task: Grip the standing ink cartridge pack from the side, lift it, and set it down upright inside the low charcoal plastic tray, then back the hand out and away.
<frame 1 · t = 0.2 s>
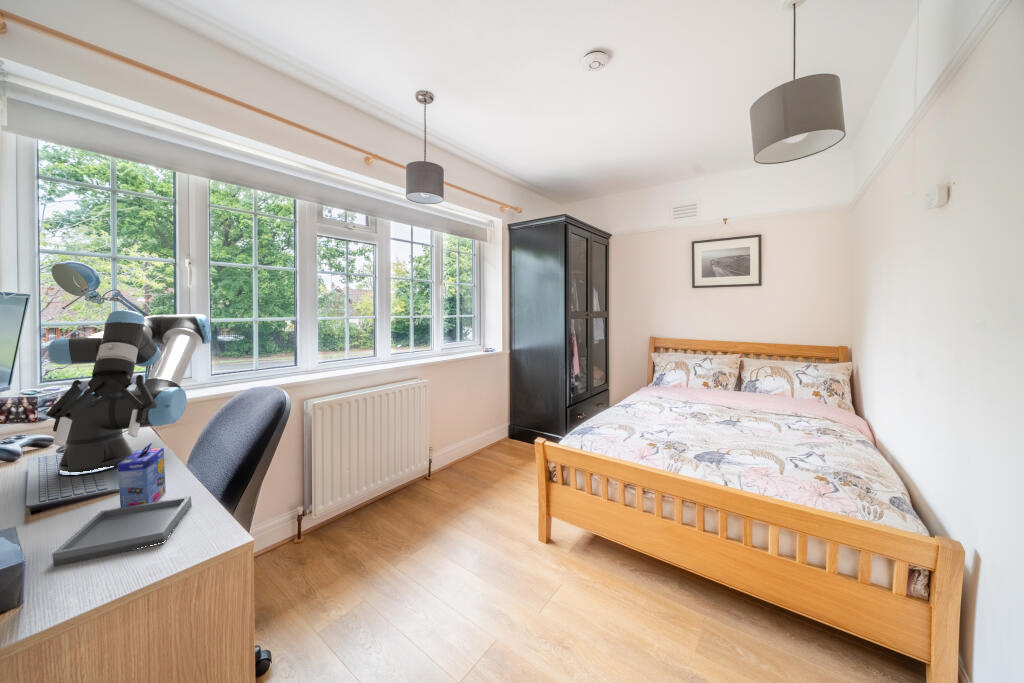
hand: (96, 440, 92), 16 cm above the table, tool tilted 35°, fingers open, 13 cm apart
dock tray: (131, 532, 81), on the table
ink cartridge box: (145, 503, 93), on the table
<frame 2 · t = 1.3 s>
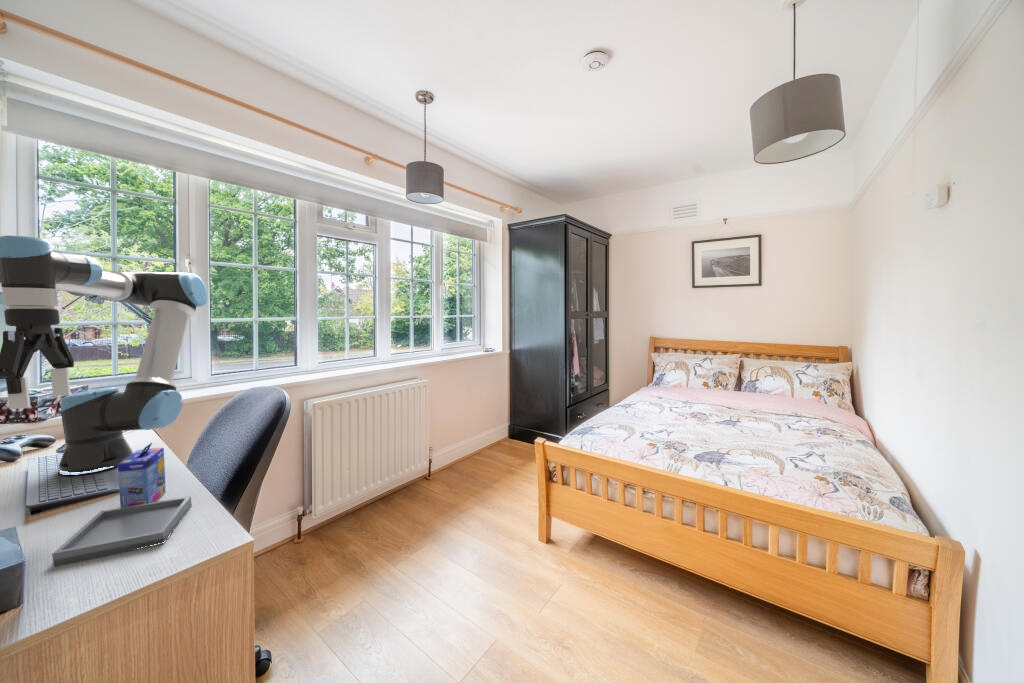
hand: (42, 401, 86), 27 cm above the table, tool pointing down, fingers open, 13 cm apart
nothing on the table moved.
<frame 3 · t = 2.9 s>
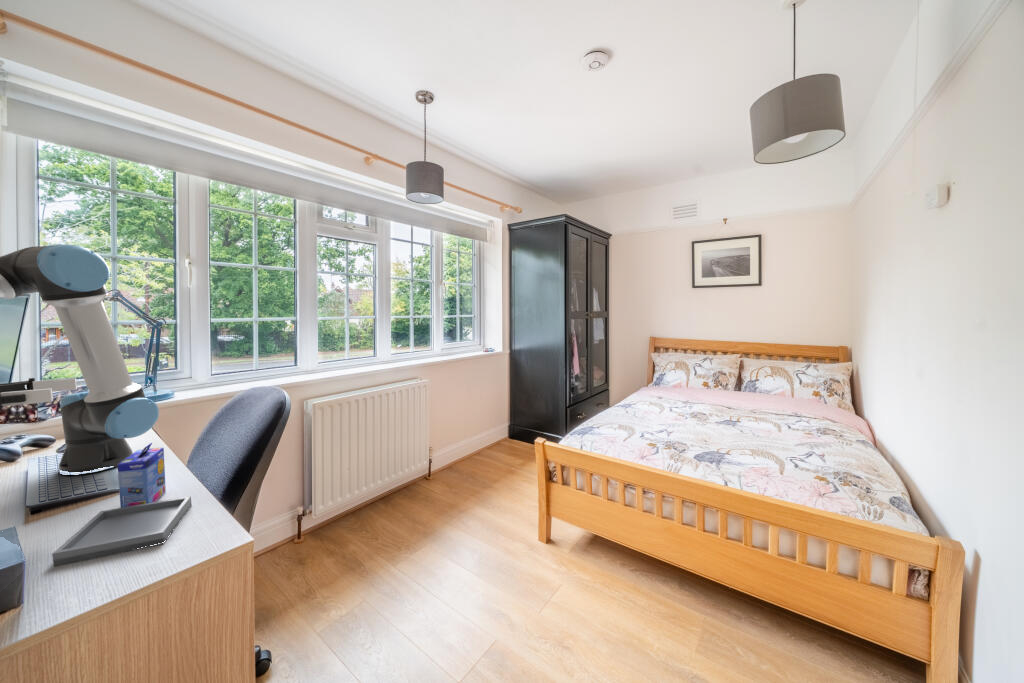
hand: (65, 389, 84), 30 cm above the table, tool horizontal, fingers open, 13 cm apart
nothing on the table moved.
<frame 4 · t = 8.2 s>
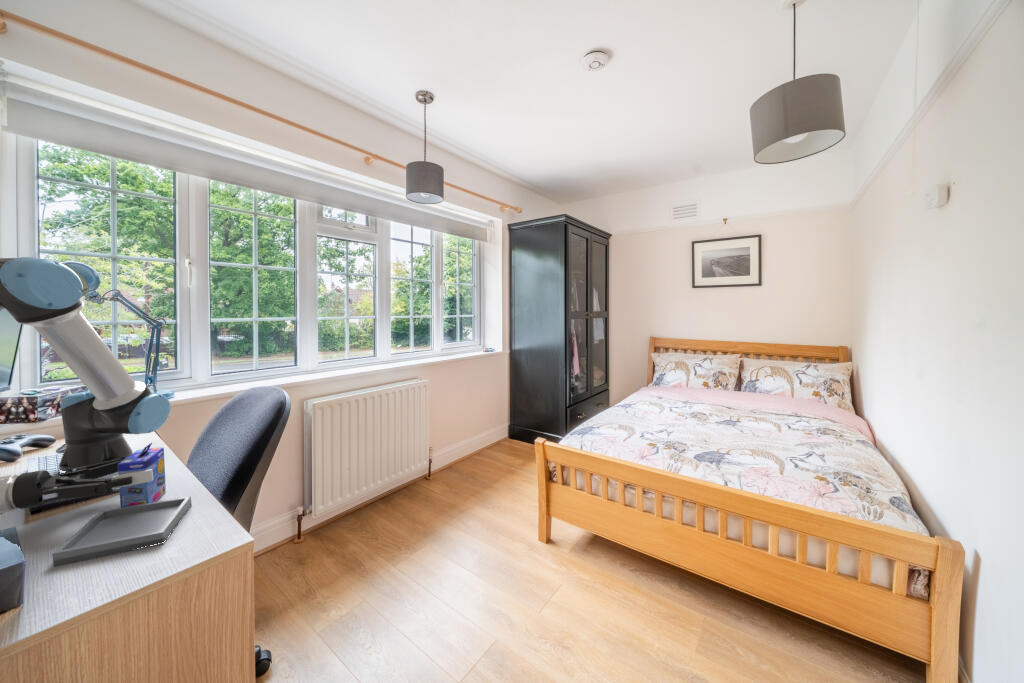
hand: (157, 466, 94), 8 cm above the table, tool horizontal, fingers closed on ink cartridge box, 10 cm apart
ink cartridge box: (145, 502, 93), on the table, touching gripper
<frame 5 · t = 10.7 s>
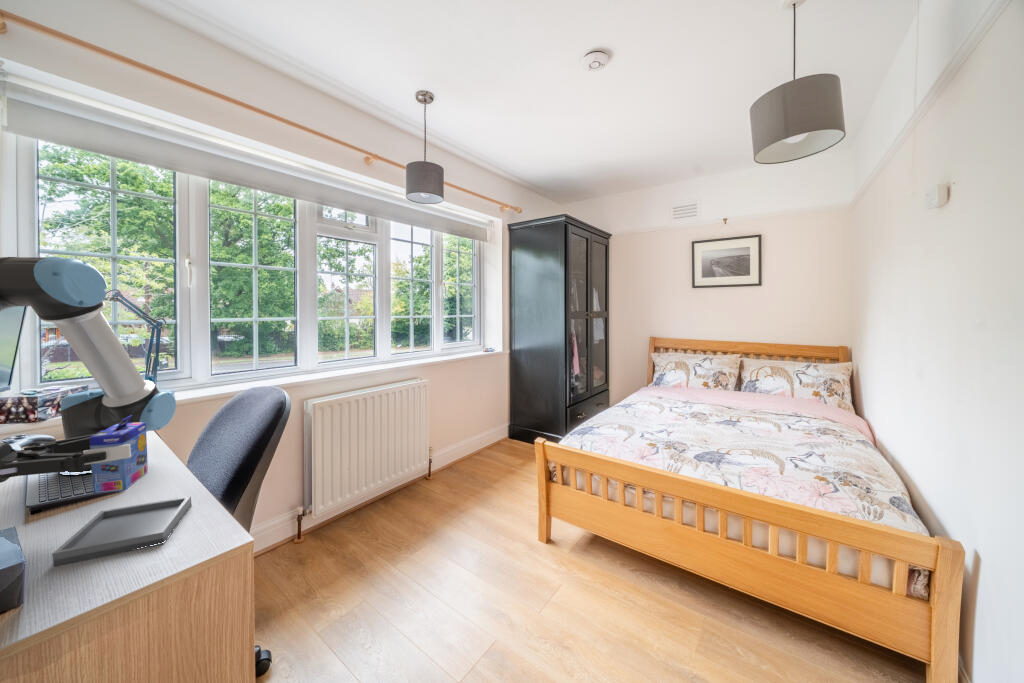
hand: (137, 442, 83), 19 cm above the table, tool horizontal, fingers closed on ink cartridge box, 10 cm apart
ink cartridge box: (123, 483, 82), point 10 cm above the table, touching gripper
when the fingers open (11 cm above the table, at t = 13.2 s): ink cartridge box drops 1 cm, resting on dock tray.
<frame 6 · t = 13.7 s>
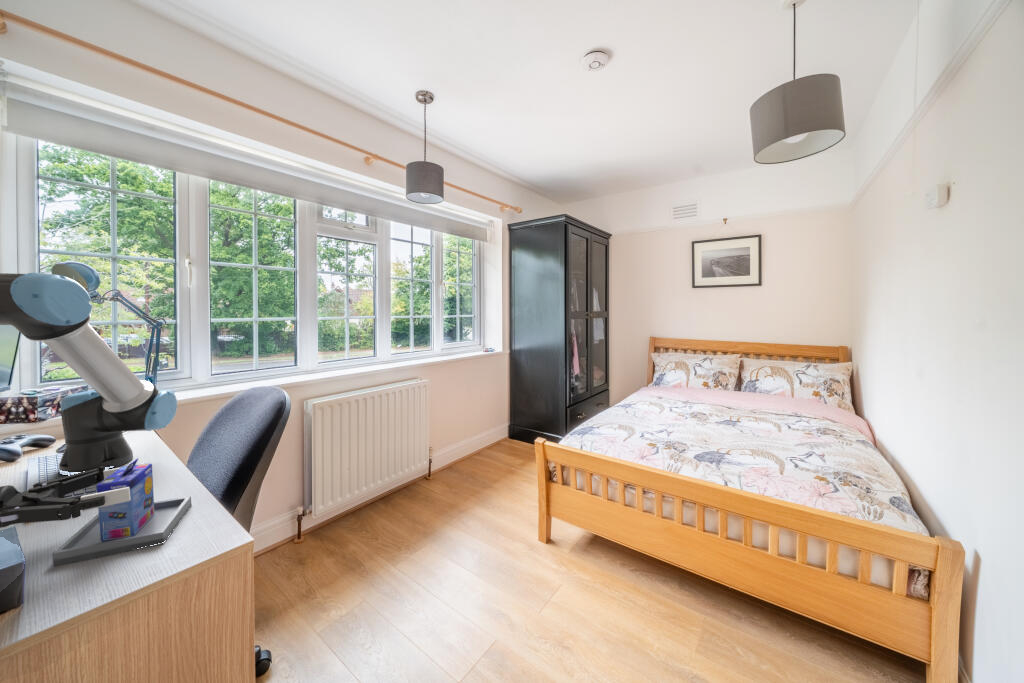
hand: (138, 480, 81), 11 cm above the table, tool horizontal, fingers open, 13 cm apart
ink cartridge box: (130, 528, 81), point 1 cm above the table, touching dock tray
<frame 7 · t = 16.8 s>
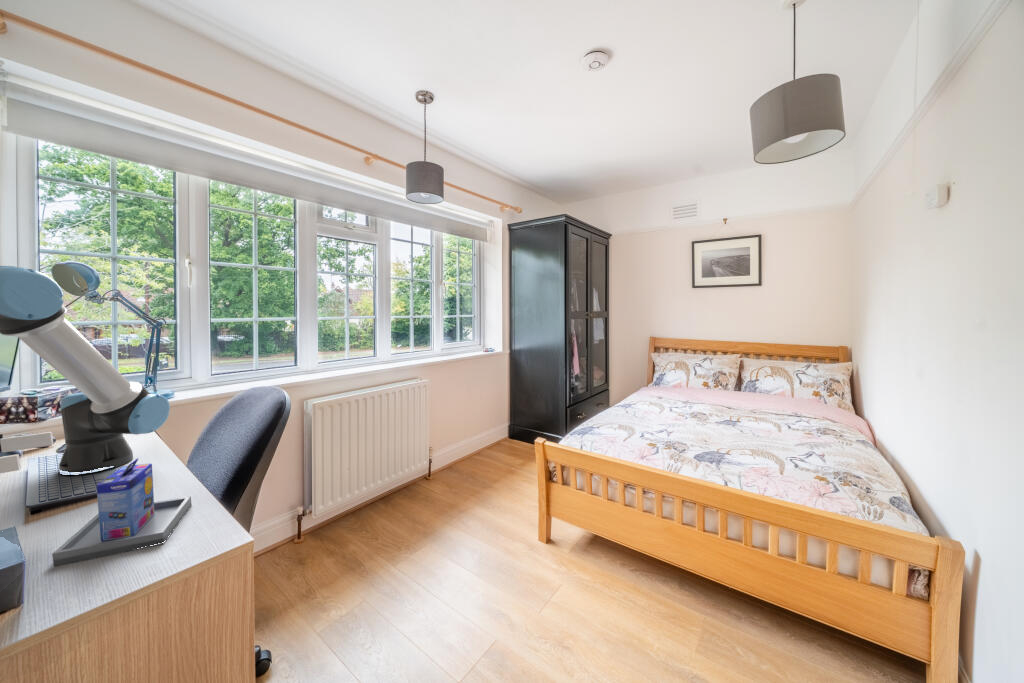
hand: (37, 449, 72), 21 cm above the table, tool horizontal, fingers open, 13 cm apart
nothing on the table moved.
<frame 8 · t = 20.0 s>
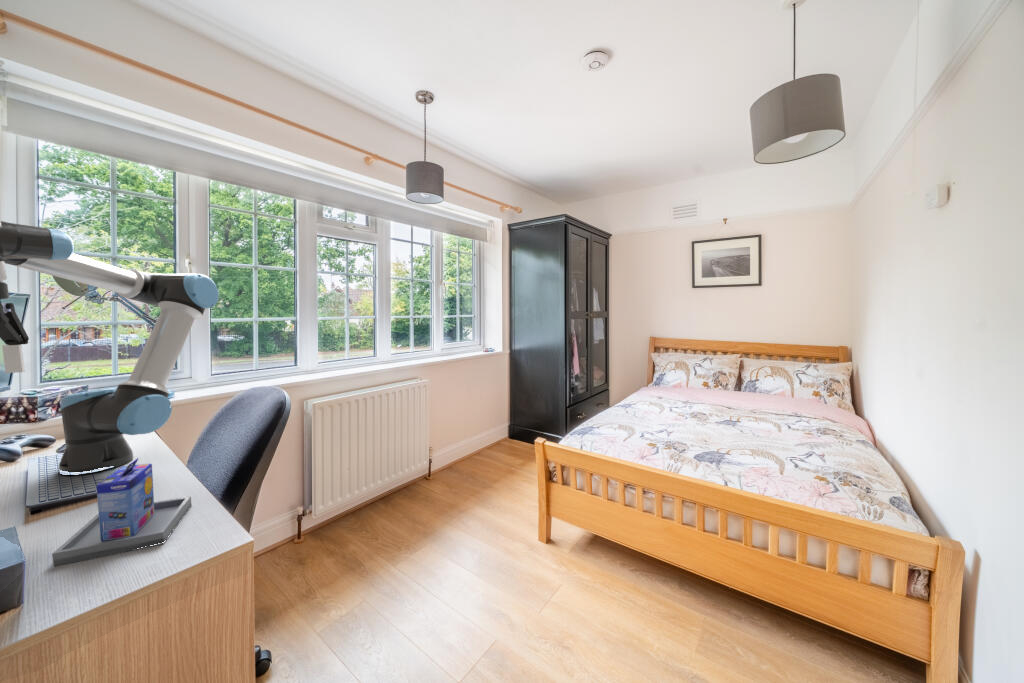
nothing on the table moved.
at the end: ink cartridge box inside the target area on the dock tray (0.2 cm from its centre), point 1.0 cm above the dock tray's base; ink cartridge box tilted 0°; the gripper is holding nothing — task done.
